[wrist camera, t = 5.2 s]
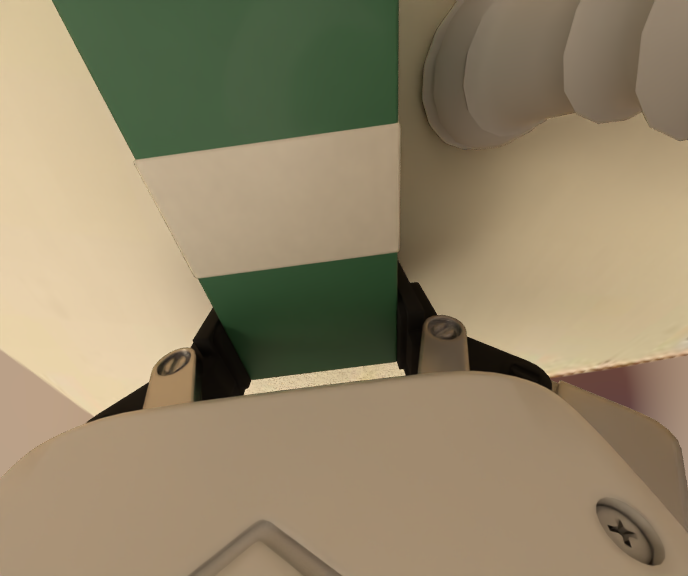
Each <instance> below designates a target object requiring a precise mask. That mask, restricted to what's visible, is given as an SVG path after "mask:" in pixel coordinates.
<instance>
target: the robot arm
mask: <svg viewBox="0 0 688 576" xmlns="http://www.w3.org/2000/svg"><path fill="white" fill-rule="evenodd" d="M193 342H194V343H193V344H192V346H191V348H180V349H177V350H174V351H172V352H170V353H168V354H167V355H165V356H164V357H162V358H161V359H160V360H159V361H158V362H157V363H156V364H155V366H154V367H153V370H152V372H151V377H150V381H149V382H148V383H147V384H145V385H144V386H142V387H141V388H139V389H137V390H136V391H134V392H133V393H131V394H129V395H128V396H126V397H125V398H123V399H121V400H120V401H118V402H117V403H115V404H114V405H112V406H110V407H109V408H107V409H106V410H104V411H102V412H101V413H99V414H98V415H96V416H95V417H93V418H92V419H90V420H89V421H88V422H87V423H85V424H83V425H80V426H78V427H75V428H73V429H71V430H69V431H66V432H64V433H61V434H60V435H58V436H55V437H53V438H51V439H49V440H48V441H46V442H44V443H42V444H41V445H39V446H37V447H36V448H34V449H33V450H31V451H30V452H29V453H27V454H26V455H25V456H24V457H22V458H21V459H20V460H19V461H18V462H17V463H16V464H14V465H13V466H12V467H11V468H10V469H9V470H8V471H7V472H6V473H5V474H4V475H3V476H2V477H1V478H0V576H688V487H687V481H686V476H685V469H684V463H683V456H682V450H681V447H680V445H679V442H678V440H677V439H676V438H675V436H674V435H673V434H672V433H671V432H670V431H669V430H668V429H667V428H665V427H664V426H663V425H661V424H660V423H659V422H657V421H656V420H654V419H652V418H650V417H648V416H646V415H644V414H642V413H639V412H637V411H635V410H632V409H630V408H627V407H625V406H622V405H620V404H617V403H615V402H613V401H610V400H608V399H605V398H603V397H600V396H598V395H595V394H593V393H590V392H588V391H586V390H583V389H581V388H578V387H576V386H573V385H571V384H568V383H566V382H564V381H560V382H559V383H556V382H553V381H551V380H550V378H549V376H548V375H547V374H546V373H545V372H544V371H543V370H542V369H541V368H539V367H538V366H537V365H535V364H533V363H531V362H529V361H527V360H524V359H522V358H519V357H517V356H514V355H512V354H509V353H507V352H504V351H502V350H499V349H497V348H494V347H492V346H489V345H487V344H484V343H482V342H479V341H477V340H474V339H472V338H469V337H467V333H466V329H465V326H464V325H463V324H462V323H461V322H460V321H459V320H457V319H455V318H453V317H450V316H446V315H437V313H436V312H435V310H434V308H433V307H432V305H431V303H430V301H429V300H428V298H427V296H426V295H425V293H424V291H423V289H422V288H421V286H420V284H419V283H418V282H414V283H410V282H409V280H408V278H407V276H406V274H405V273H404V271H403V269H402V267H401V265H400V263H399V261H398V262H397V363H398V367H399V369H404V371H405V374H406V376H398V377H389V378H381V379H372V380H364V381H355V382H347V383H339V384H330V385H322V386H314V387H306V388H298V389H290V390H282V391H274V392H266V393H258V394H251V395H244V392H245V389H247V388H249V385H250V382H251V379H250V377H249V375H248V373H247V371H246V369H245V367H244V365H243V363H242V361H241V360H240V358H239V356H238V354H237V352H236V350H235V348H234V346H233V344H232V342H231V340H230V339H229V337H228V335H227V333H226V331H225V329H224V327H223V325H222V323H221V321H220V320H219V318H218V316H217V314H216V312H215V310H214V308H212V310H211V312H210V313H209V315H208V316H207V318H206V320H205V321H204V323H203V324H202V326H201V328H200V329H199V331H198V333H197V334H196V336H195V337H194V339H193Z"/></svg>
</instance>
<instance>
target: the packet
mask: <svg viewBox="0 0 688 576" xmlns="http://www.w3.org/2000/svg"><path fill="white" fill-rule="evenodd" d="M52 1H53V3H54V5H55V7H56V9H57V11H58V13H59V15H60V17H61V19H62V20H63V22H64V24H65V26H66V28H67V30H68V32H69V34H70V36H71V38H72V40H73V41H74V43H75V45H76V47H77V49H78V51H79V53H80V55H81V57H82V59H83V60H84V62H85V64H86V66H87V68H88V70H89V72H90V74H91V76H92V78H93V80H94V81H95V83H96V85H97V87H98V89H99V91H100V93H101V95H102V97H103V99H104V100H105V102H106V104H107V106H108V108H109V110H110V112H111V114H112V116H113V118H114V120H115V121H116V123H117V125H118V127H119V129H120V131H121V133H122V135H123V137H124V139H125V140H126V142H127V144H128V146H129V148H130V150H131V152H132V154H133V156H134V158H135V160H134V165H135V167H136V168H137V170H138V172H139V174H140V176H141V178H142V180H143V182H144V183H145V185H146V187H147V189H148V191H149V193H150V195H151V197H152V198H153V200H154V202H155V204H156V206H157V208H158V210H159V212H160V213H161V215H162V217H163V219H164V221H165V223H166V225H167V227H168V228H169V230H170V232H171V234H172V236H173V238H174V240H175V242H176V244H177V245H178V247H179V249H180V251H181V253H182V255H183V257H184V259H185V260H186V262H187V264H188V266H189V268H190V270H191V272H192V274H193V275H194V277H195V278H197V279H198V280H199V281H200V283H201V285H202V287H203V289H204V291H205V293H206V295H207V297H208V299H209V300H210V302H211V304H212V306H213V308H214V310H215V312H216V314H217V316H218V318H219V320H220V321H221V323H222V325H223V327H224V329H225V331H226V333H227V335H228V337H229V339H230V340H231V342H232V344H233V346H234V348H235V350H236V352H237V354H238V356H239V358H240V360H241V361H242V363H243V365H244V367H245V369H246V371H247V373H248V375H249V377H250V379H251V380H256V379H264V378H272V377H280V376H288V375H296V374H304V373H312V372H320V371H328V370H335V369H343V368H351V367H359V366H367V365H375V364H383V363H391V362H396V361H397V262H398V252H399V249H400V154H401V126H400V123H398V35H399V0H52Z"/></svg>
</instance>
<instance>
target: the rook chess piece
mask: <svg viewBox="0 0 688 576" xmlns="http://www.w3.org/2000/svg"><path fill="white" fill-rule="evenodd" d="M422 100H423V104H424V107H425V111H426V114H427V118H428V121H429V125H430V126H431V127H432V129H433V130H434V131H435V132H436V133H437V134H438V136H439V137H440V138H441V139H442V140H443V141H444V143H447V144H450V145H452V146H455V147H458V148H460V149H463V150H467V149H476V150H478V149H486V148H494V147H501V146H503V145H506V144H508V143H510V142H512V141H514V140H515V139H517V138H519V137H521V136H523V135H525V134H526V133H528V132H530V131H532V130H533V129H534V128H535V127H536V126H537V125H539V124H541V123H543V122H544V121H546V120H547V119H549V118H553V117H558V116H562V115H566V114H571V113H576V114H578V115H580V116H582V117H584V118H586V119H589V120H591V121H593V122H595V123H597V124H600V123H608V122H616V121H624V120H627V119H629V118H631V117H633V116H635V115H637V114H639V113H641V112H642V113H643V115H644V117H645V119H646V121H647V123H648V125H649V127H651V128H653V129H655V130H657V131H659V132H661V133H663V134H665V135H668V136H670V137H672V138H674V139H676V140H678V141H684V140H688V0H457V2H456V3H455V4H454V6H453V7H452V9H451V10H450V11H449V13H448V14H447V16H446V17H445V18H444V20H443V21H442V23H441V24H440V25H439V27H438V28H437V30H436V32H435V35H434V38H433V41H432V44H431V47H430V49H429V52H428V55H427V58H426V61H425V64H424V72H423V90H422Z"/></svg>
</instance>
